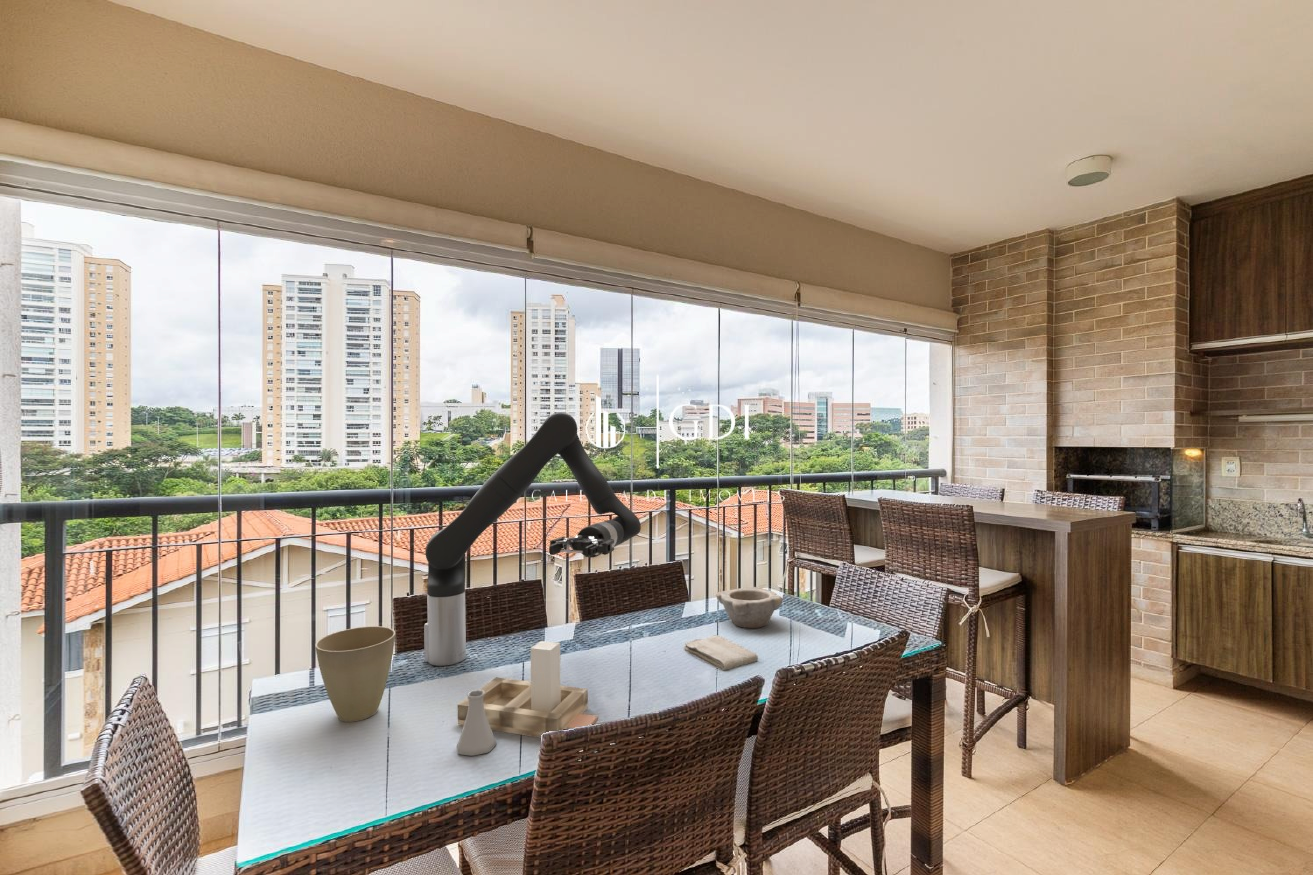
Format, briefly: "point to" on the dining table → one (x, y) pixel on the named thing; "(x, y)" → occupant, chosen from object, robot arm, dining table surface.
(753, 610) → the mortar
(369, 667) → the plant pot
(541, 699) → the plug peg
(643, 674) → the dining table surface
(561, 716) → the socket block
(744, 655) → the washcloth
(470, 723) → the flask
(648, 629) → the dining table surface
